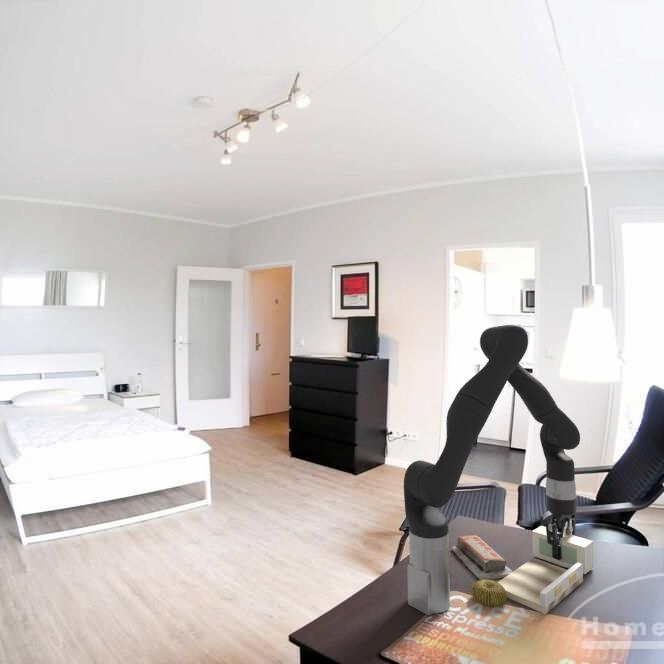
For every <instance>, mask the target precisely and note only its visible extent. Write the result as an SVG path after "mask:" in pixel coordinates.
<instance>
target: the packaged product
mask: <svg viewBox="0 0 664 664" xmlns="http://www.w3.org/2000/svg"><path fill="white" fill-rule="evenodd" d="M452 550H453V551H454V552H455V553H456V554H457V555H456V554H455V553H454V552H453V551H452ZM451 551H452V552H453V553H454V554H455V555H456V556H457V557H458V558H459V560H460V559H461V560H462V561H463V562H462V561H461V560H460V561H461V562H462V563H463V564H464V566H465V567H467V568H468V569H469V570H470V571H471V573H473V574H474V575H475V577H476V578H478V579H479V580H482V579H488V580H496V579H497V580H498V579H503V578H505V577H506V576H508V575H509V574H510V573H512V572H513V570H512V568H509V567H508V566H507V561H506V560H505V558H503V557H502V556H501V555H500V554H499V553H498V552H497V551H495V550H494V549H493V548H492V547H491V546H489V544H487V543H486V542H485V541H484V540H483V538H481V537H480V536H478V535H475V534H468V535H459V536H457V541H456V545H452V546H451Z"/></svg>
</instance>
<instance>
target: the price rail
mask: <svg viewBox="0 0 664 664" xmlns="http://www.w3.org/2000/svg"><path fill="white" fill-rule="evenodd" d="M566 570H567V571H566V572H565V573H563V574H562V575H561V576H560V577H558V578H557V579H556V580H555V581H553V582H552V583H551V584H550V585H548V586H547V587H546V588H545V589H543V590H542V591H541V592H540V606H543V607H545V608H546V607H547V606H548V605H549V604H550V603H551V602H553V601H554V600H555V599H556V598H557V597H558V596H560V595H561V594H562V593H563V592H564V591H565V590H567V589H568V588H569V587H570V586H571V585H572V584H574V583H575V582H576V581H577V580H578V579H579V578H581V577H582V576H583V577H584V574H583V564H582V563H579V562H577V563H576V564H575V565H573V566H572V567H571V568H570V569H569V568H567V569H566Z"/></svg>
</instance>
